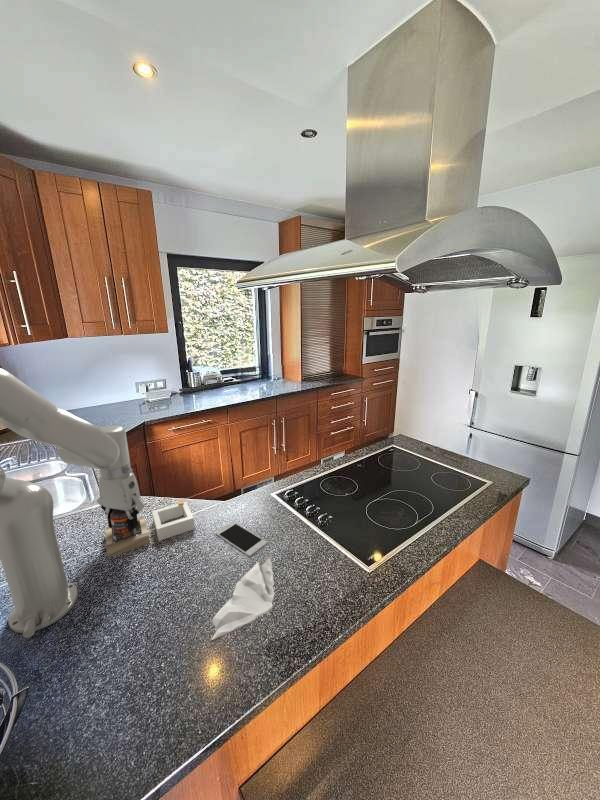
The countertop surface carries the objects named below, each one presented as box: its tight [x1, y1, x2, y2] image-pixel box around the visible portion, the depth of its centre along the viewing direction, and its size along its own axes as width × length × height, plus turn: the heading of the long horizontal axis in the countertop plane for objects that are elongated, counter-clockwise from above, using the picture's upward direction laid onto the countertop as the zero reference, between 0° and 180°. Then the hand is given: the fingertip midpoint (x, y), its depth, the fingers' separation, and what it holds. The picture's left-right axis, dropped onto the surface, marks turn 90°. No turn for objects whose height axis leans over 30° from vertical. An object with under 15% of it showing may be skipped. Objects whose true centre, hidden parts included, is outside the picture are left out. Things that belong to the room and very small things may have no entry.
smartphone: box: [215, 521, 268, 558], centre depth 97 cm, size 7×16×1 cm, turn 51°
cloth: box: [210, 556, 275, 641], centre depth 77 cm, size 26×14×2 cm, turn 145°
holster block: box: [105, 515, 151, 558], centre depth 96 cm, size 11×11×3 cm
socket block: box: [151, 500, 196, 542], centre depth 103 cm, size 11×11×5 cm
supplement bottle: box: [110, 509, 137, 543], centre depth 94 cm, size 6×6×11 cm
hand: (123, 526), depth 95 cm, fingers closed on supplement bottle, 6 cm apart
